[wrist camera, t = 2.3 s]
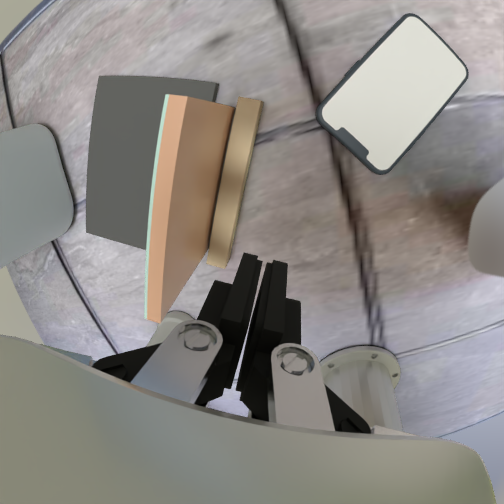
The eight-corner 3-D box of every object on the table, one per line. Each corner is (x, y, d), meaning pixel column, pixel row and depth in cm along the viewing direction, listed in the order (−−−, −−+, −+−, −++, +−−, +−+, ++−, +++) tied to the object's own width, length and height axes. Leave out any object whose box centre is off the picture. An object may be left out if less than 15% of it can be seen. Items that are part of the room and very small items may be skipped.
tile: (234, 107, 24) (187, 96, 13) (207, 250, 30) (160, 323, 19) (221, 105, 24) (165, 94, 13) (195, 247, 30) (144, 318, 19)
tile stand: (229, 259, 31) (224, 268, 29) (198, 250, 31) (191, 259, 29) (263, 102, 24) (260, 100, 22) (227, 95, 24) (221, 93, 22)
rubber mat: (188, 256, 32) (185, 260, 31) (91, 229, 32) (86, 232, 31) (218, 84, 24) (216, 82, 23) (104, 76, 24) (98, 76, 24)
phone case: (404, 12, 18) (308, 115, 25) (410, 7, 17) (309, 114, 23) (466, 75, 20) (378, 178, 26) (474, 73, 18) (382, 182, 25)
